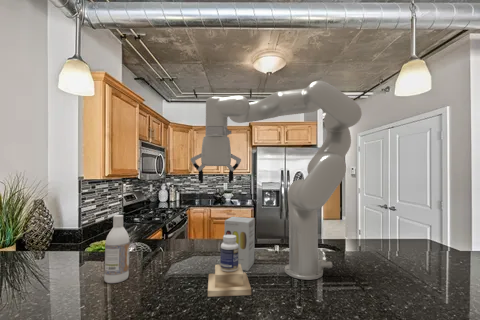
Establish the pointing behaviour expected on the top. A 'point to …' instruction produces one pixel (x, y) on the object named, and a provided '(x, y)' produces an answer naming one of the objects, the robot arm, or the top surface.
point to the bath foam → (117, 252)
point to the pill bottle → (229, 254)
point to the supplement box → (242, 238)
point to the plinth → (228, 289)
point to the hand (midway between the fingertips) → (215, 183)
